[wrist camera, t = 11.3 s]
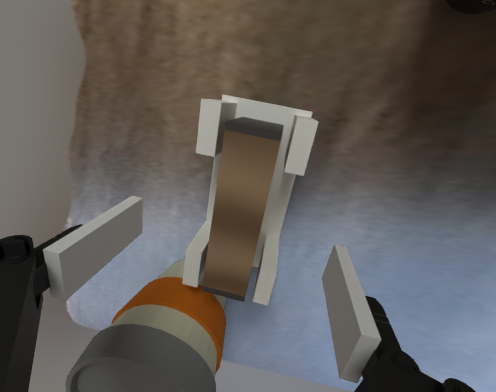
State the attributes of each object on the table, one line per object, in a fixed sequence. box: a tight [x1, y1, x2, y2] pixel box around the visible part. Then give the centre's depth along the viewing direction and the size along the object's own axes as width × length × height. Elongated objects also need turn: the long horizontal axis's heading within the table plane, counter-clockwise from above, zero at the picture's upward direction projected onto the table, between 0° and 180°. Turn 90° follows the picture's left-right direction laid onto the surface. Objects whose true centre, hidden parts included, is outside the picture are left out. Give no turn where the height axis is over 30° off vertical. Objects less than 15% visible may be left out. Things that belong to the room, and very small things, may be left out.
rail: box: [202, 117, 284, 302], centre depth 23 cm, size 15×4×7 cm, turn 169°
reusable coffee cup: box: [66, 259, 226, 392], centre depth 27 cm, size 12×13×15 cm
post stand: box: [182, 95, 318, 306], centre depth 24 cm, size 18×8×8 cm, turn 169°
